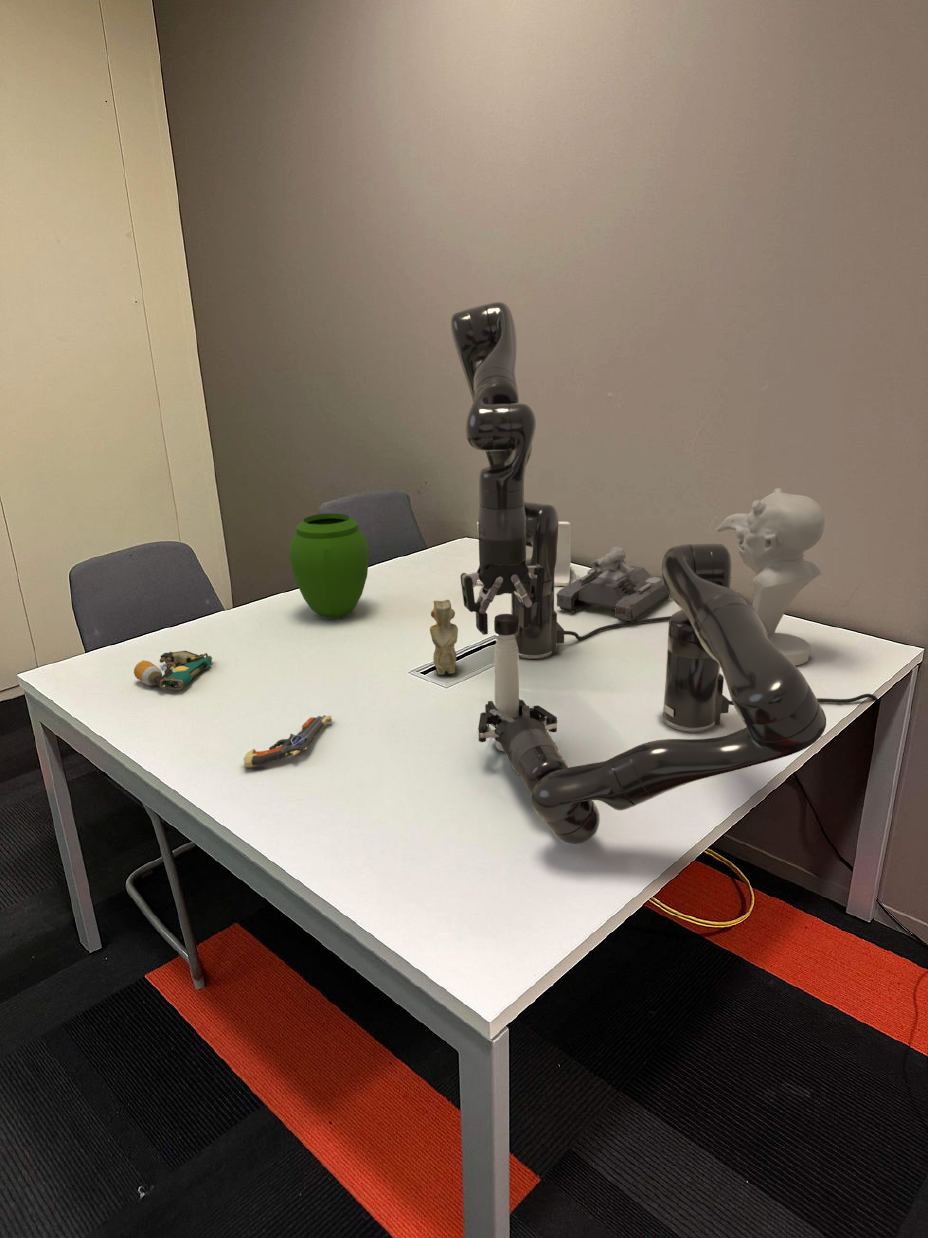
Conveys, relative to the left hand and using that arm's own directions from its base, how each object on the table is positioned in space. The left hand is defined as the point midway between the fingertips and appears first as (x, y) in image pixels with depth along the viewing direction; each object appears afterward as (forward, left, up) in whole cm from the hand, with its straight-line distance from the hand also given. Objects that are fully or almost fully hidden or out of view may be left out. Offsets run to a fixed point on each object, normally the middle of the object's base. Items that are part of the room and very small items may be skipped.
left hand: (503, 629), depth 141 cm
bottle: (0, 0, -22) cm, 22 cm away
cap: (0, 0, +2) cm, 2 cm away
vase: (+25, -75, -22) cm, 82 cm away
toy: (-44, -63, -22) cm, 80 cm away
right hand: (0, -3, -15) cm, 15 cm away
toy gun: (+37, -9, -22) cm, 44 cm away
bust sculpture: (-63, -26, -22) cm, 72 cm away
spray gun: (+60, -46, -22) cm, 79 cm away
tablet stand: (-29, -92, -22) cm, 99 cm away
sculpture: (+4, -34, -22) cm, 41 cm away
